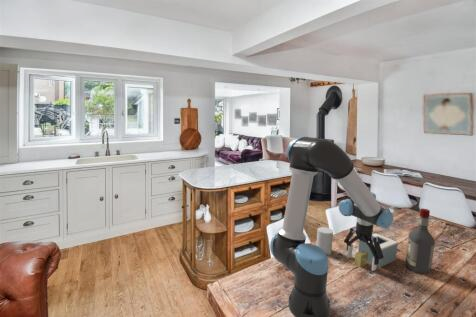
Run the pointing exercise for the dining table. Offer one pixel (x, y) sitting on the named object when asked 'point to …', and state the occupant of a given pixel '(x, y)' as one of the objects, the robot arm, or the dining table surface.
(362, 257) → the block
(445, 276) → the dining table surface
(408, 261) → the liquor
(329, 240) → the cup
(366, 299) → the dining table surface
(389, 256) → the open-top box
